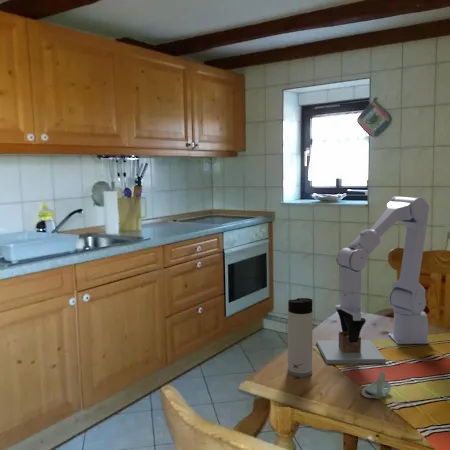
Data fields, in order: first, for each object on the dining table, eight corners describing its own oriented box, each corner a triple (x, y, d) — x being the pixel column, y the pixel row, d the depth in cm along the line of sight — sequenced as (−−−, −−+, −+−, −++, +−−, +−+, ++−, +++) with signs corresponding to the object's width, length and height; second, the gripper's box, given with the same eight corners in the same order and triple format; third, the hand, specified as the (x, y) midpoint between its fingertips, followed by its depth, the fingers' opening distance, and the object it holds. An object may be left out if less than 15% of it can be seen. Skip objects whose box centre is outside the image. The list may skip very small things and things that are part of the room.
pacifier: (357, 397, 108) (382, 404, 105) (356, 372, 107) (382, 378, 104) (368, 386, 114) (392, 392, 110) (368, 361, 113) (392, 366, 110)
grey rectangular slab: (369, 343, 140) (370, 326, 139) (385, 363, 126) (386, 344, 125) (316, 344, 140) (316, 327, 139) (326, 363, 126) (326, 345, 125)
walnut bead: (355, 345, 135) (356, 331, 135) (360, 352, 130) (360, 337, 130) (338, 345, 135) (338, 331, 135) (342, 352, 130) (343, 337, 130)
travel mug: (298, 380, 117) (298, 303, 114) (283, 370, 123) (283, 296, 120) (317, 374, 120) (318, 299, 117) (302, 365, 126) (302, 293, 123)
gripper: (330, 284, 138) (330, 328, 140) (342, 298, 124) (342, 346, 125) (354, 283, 138) (353, 327, 140) (369, 297, 124) (368, 346, 125)
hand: (349, 336), depth 132 cm, fingers open, 7 cm apart
